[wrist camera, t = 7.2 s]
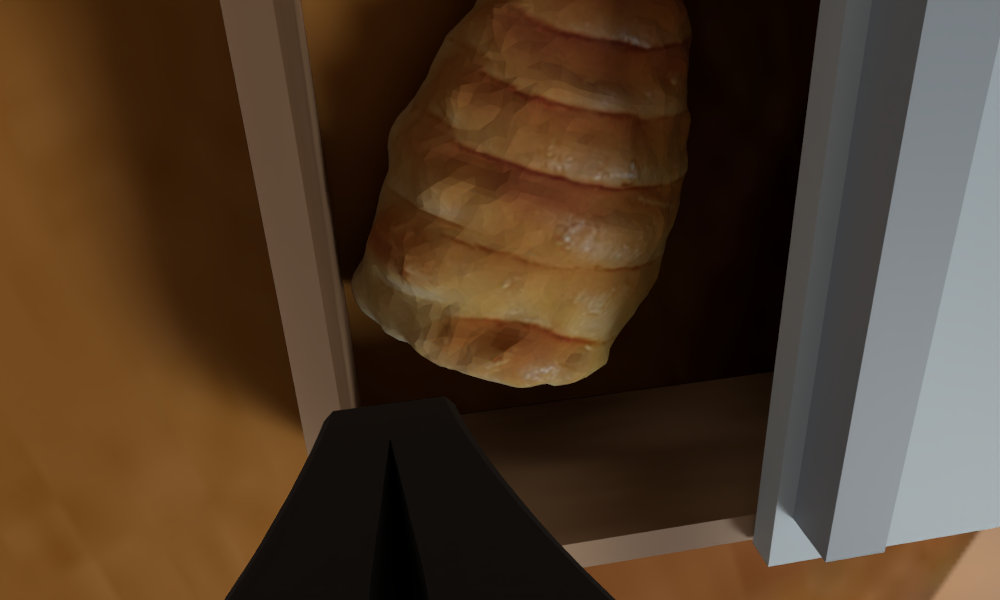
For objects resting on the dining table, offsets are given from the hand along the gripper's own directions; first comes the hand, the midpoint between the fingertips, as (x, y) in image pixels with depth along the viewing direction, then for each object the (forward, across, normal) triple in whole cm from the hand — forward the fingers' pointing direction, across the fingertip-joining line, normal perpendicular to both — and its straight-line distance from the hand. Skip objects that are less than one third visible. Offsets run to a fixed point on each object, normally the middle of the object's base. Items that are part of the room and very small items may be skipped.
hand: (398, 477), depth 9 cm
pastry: (+10, -3, 0) cm, 11 cm away
